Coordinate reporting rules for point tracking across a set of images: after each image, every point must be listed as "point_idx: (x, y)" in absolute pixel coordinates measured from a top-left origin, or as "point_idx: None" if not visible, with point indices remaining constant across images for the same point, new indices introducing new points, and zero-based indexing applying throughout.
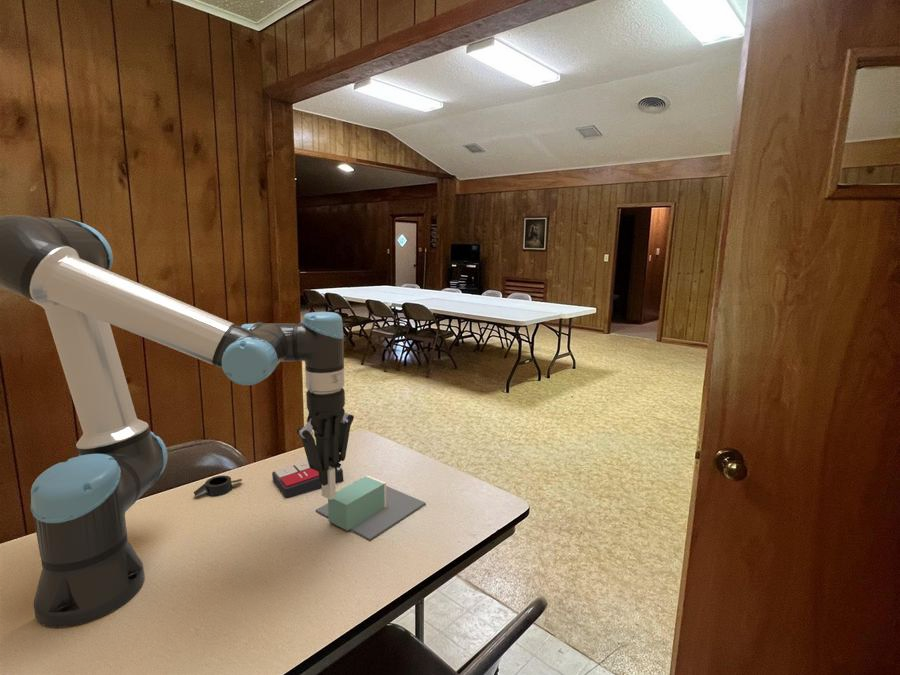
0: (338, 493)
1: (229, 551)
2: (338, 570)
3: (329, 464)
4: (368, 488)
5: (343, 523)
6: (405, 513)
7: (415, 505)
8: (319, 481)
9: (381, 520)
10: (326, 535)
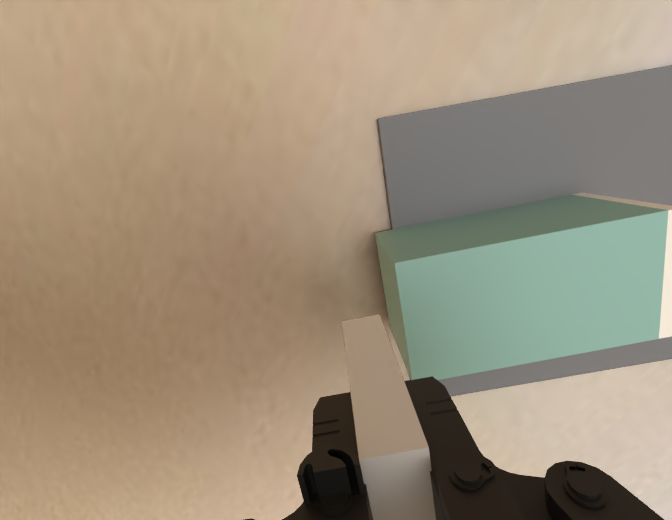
0: (447, 276)
1: (14, 151)
2: (277, 442)
3: (436, 498)
4: (578, 327)
5: (390, 317)
6: (587, 365)
7: (648, 348)
8: (314, 420)
9: None
10: (329, 289)
